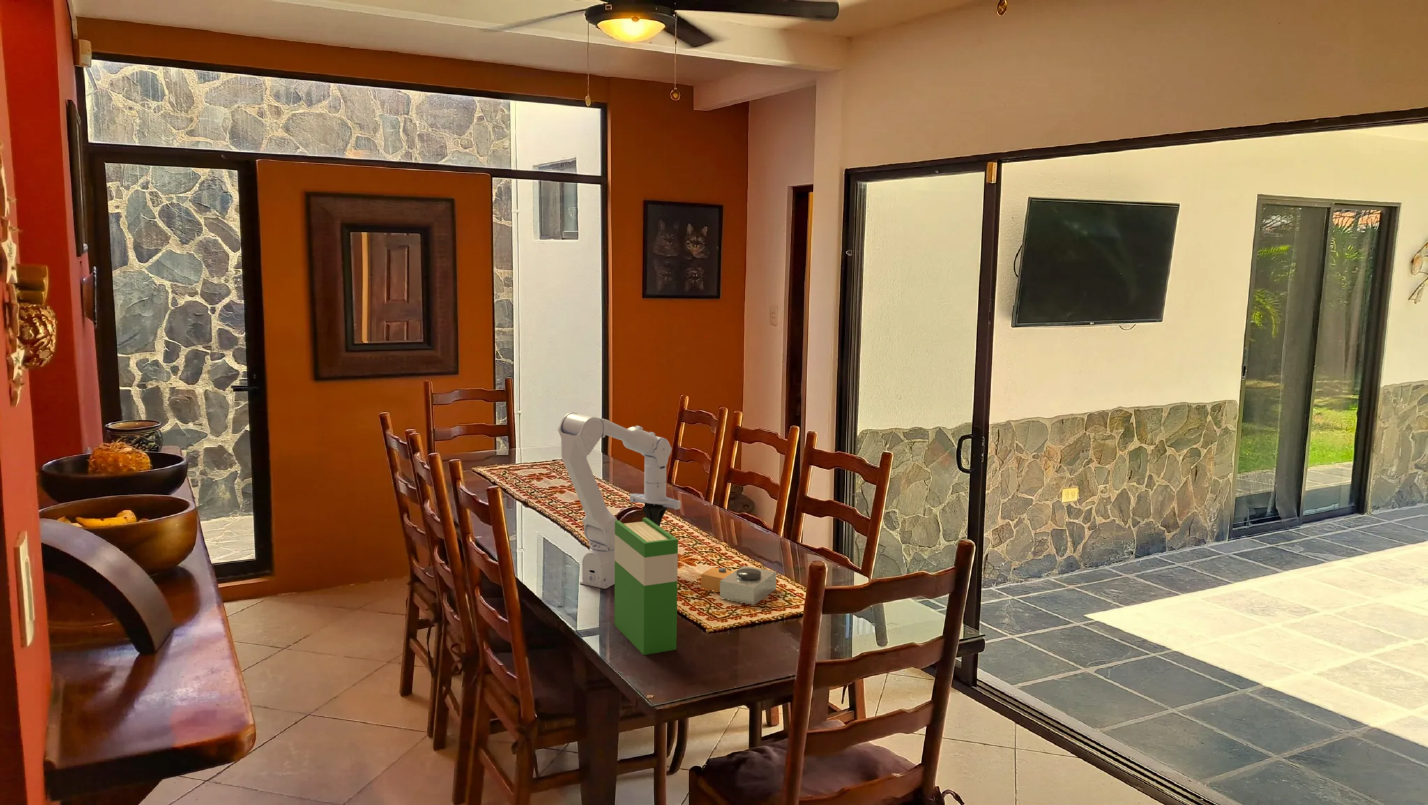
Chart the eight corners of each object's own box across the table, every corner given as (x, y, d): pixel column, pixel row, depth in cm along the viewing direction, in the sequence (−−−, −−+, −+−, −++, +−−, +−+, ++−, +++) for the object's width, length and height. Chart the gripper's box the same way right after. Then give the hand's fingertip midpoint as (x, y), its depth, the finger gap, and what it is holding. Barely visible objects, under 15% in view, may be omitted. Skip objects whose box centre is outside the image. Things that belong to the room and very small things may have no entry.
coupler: (753, 605, 229) (754, 583, 228) (697, 594, 236) (698, 572, 235) (775, 589, 240) (776, 568, 239) (722, 578, 247) (722, 558, 246)
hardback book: (614, 624, 216) (614, 520, 212) (645, 620, 219) (646, 517, 215) (643, 655, 200) (644, 543, 196) (676, 649, 203) (678, 539, 199)
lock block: (726, 594, 236) (726, 576, 235) (701, 589, 239) (701, 571, 239) (737, 587, 241) (737, 569, 241) (712, 582, 245) (712, 565, 244)
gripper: (687, 481, 252) (686, 532, 255) (639, 475, 259) (639, 524, 261) (673, 487, 246) (672, 539, 248) (625, 480, 253) (625, 530, 255)
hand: (654, 531), depth 254 cm, fingers closed
